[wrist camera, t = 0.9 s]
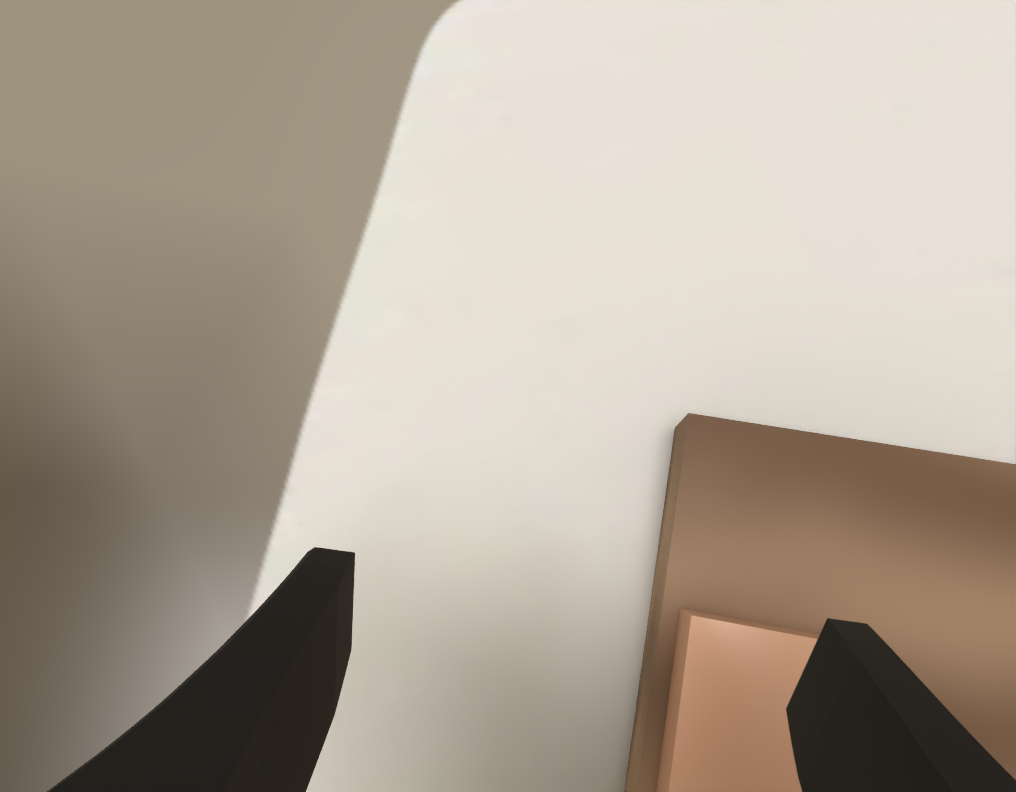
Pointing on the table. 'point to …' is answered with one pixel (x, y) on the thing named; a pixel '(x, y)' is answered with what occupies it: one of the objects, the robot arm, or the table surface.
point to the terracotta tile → (731, 706)
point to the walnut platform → (839, 562)
